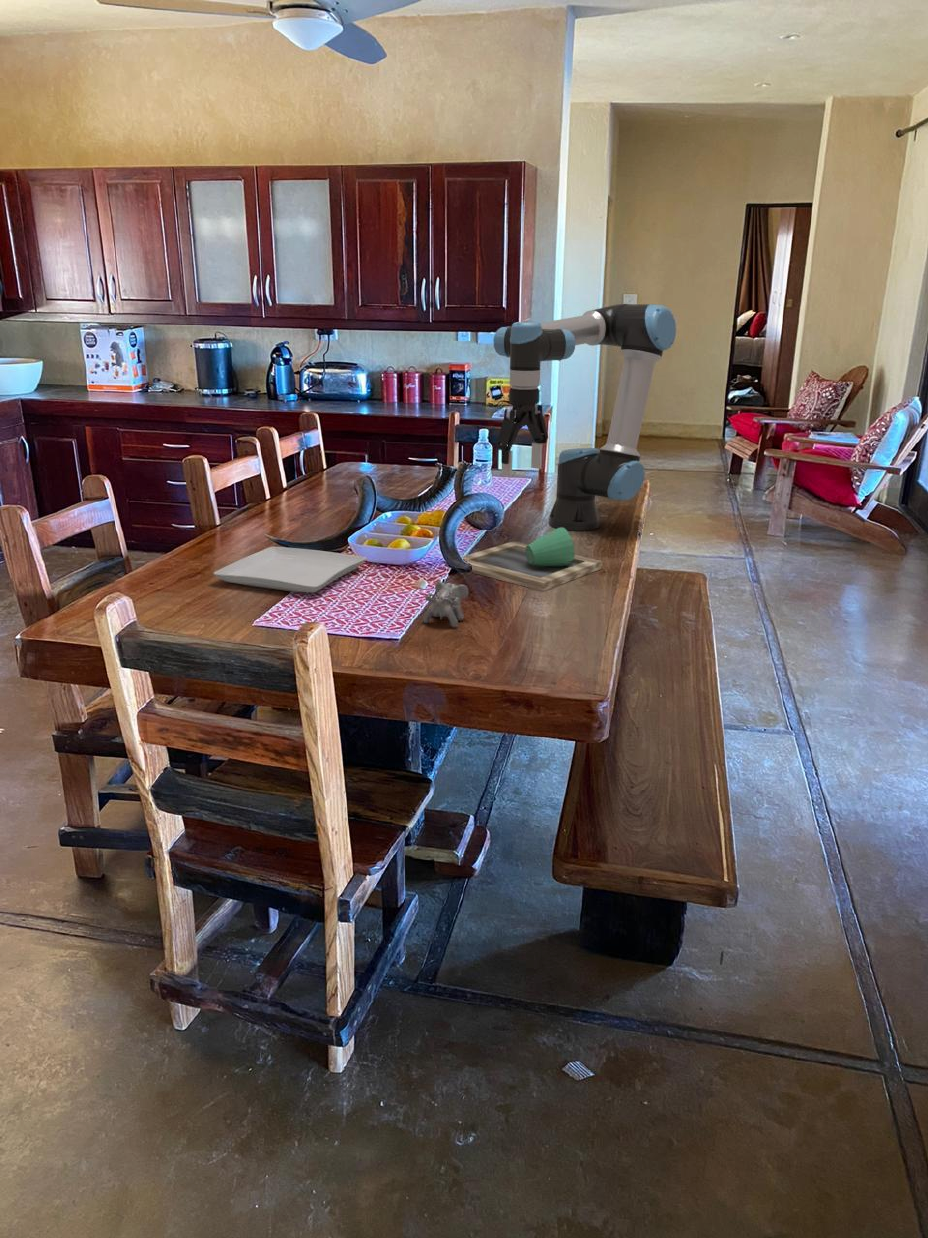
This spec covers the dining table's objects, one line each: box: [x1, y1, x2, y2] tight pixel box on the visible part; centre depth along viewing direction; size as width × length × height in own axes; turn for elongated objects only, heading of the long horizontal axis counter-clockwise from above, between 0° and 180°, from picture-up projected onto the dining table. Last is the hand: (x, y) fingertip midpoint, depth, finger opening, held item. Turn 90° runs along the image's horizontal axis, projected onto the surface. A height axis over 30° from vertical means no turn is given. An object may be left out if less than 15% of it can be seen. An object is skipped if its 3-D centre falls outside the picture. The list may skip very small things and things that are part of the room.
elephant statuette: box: [422, 580, 469, 628], centre depth 188 cm, size 9×12×8 cm
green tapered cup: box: [526, 527, 576, 567], centre depth 226 cm, size 15×10×10 cm
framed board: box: [461, 540, 603, 592], centre depth 226 cm, size 26×28×2 cm
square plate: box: [212, 546, 367, 594], centre depth 214 cm, size 27×27×4 cm
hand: (521, 472), depth 230 cm, fingers open, 13 cm apart
